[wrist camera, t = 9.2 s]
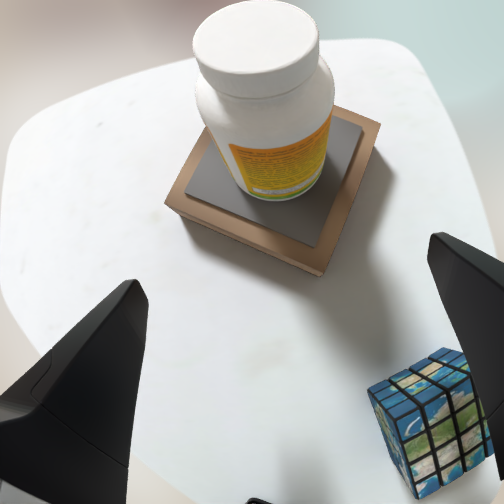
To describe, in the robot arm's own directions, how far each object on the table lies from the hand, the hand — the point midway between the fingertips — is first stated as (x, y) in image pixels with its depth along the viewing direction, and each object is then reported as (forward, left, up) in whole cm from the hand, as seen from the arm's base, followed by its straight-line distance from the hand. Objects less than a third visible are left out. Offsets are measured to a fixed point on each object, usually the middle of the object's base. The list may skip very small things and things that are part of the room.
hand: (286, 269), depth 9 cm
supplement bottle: (+6, +3, -8) cm, 10 cm away
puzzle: (-4, -11, -11) cm, 16 cm away
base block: (+6, +4, -10) cm, 13 cm away
